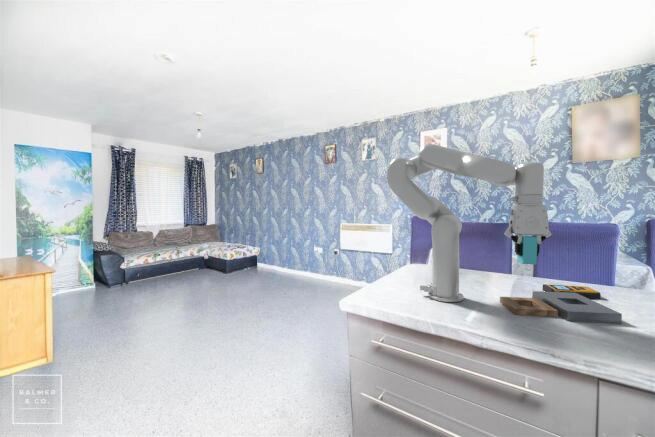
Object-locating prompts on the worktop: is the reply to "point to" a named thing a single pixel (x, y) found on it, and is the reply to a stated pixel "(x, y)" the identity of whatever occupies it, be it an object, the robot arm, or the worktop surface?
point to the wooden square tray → (528, 306)
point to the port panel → (578, 307)
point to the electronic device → (573, 290)
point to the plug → (528, 250)
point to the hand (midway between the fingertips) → (526, 254)
